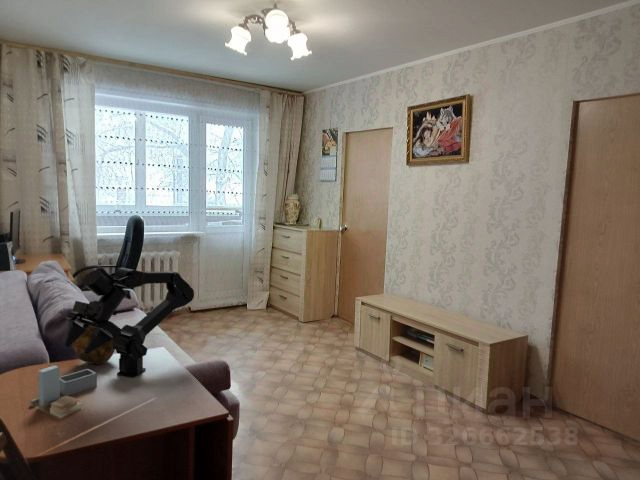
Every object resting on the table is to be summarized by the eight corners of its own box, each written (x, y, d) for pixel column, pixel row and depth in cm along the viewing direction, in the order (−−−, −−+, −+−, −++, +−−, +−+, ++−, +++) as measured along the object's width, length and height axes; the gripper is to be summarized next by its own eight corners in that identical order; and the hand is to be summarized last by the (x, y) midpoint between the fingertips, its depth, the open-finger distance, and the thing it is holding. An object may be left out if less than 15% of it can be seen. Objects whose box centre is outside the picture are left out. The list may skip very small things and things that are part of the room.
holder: (88, 382, 142) (88, 368, 141) (96, 387, 139) (96, 373, 139) (56, 392, 135) (56, 377, 134) (65, 398, 132) (65, 382, 131)
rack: (53, 396, 132) (53, 385, 132) (84, 410, 126) (84, 398, 125) (28, 406, 126) (27, 394, 126) (59, 421, 120) (59, 409, 119)
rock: (122, 357, 163) (122, 316, 161) (103, 372, 150) (103, 327, 148) (87, 355, 163) (86, 314, 161) (65, 369, 151) (64, 325, 149)
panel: (55, 399, 130) (54, 365, 128) (59, 401, 129) (59, 366, 127) (39, 405, 126) (38, 370, 124) (43, 407, 125) (42, 372, 124)
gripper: (70, 284, 139) (35, 330, 132) (110, 294, 130) (75, 344, 123) (95, 303, 147) (63, 347, 140) (135, 314, 138) (103, 362, 131)
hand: (75, 350), depth 133 cm, fingers open, 9 cm apart
